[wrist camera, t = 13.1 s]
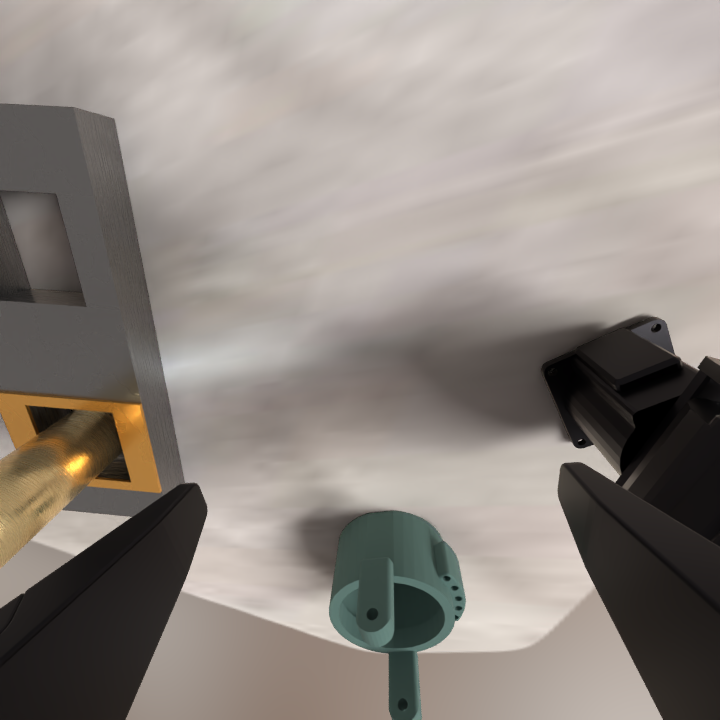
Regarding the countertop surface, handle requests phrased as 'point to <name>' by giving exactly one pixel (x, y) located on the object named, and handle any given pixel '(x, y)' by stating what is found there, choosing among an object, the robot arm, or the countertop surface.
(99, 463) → the brass peg
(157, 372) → the hole rail
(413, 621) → the bracket
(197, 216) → the countertop surface
